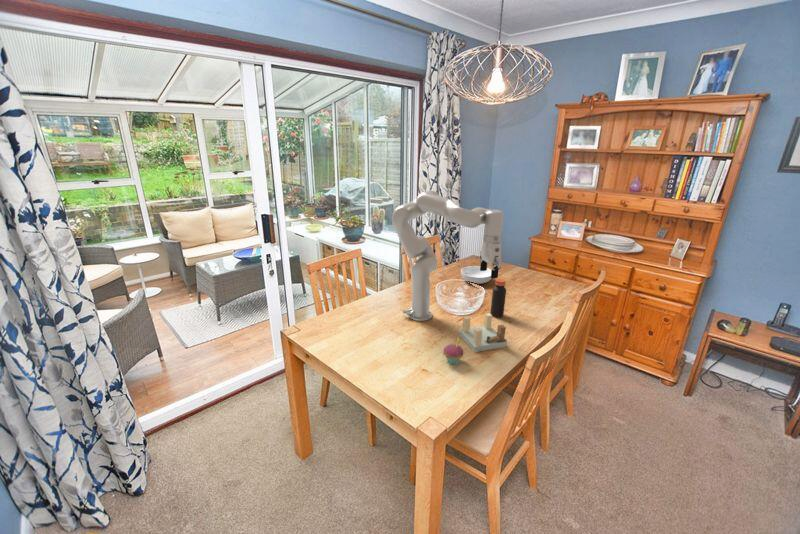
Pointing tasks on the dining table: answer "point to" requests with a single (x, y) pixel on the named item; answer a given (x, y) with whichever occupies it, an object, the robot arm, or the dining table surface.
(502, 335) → the folding leg
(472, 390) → the dining table surface
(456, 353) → the cupcake
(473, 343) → the stool seat
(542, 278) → the dining table surface
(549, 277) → the dining table surface
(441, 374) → the dining table surface
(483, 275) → the serving bowl
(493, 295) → the bottle
